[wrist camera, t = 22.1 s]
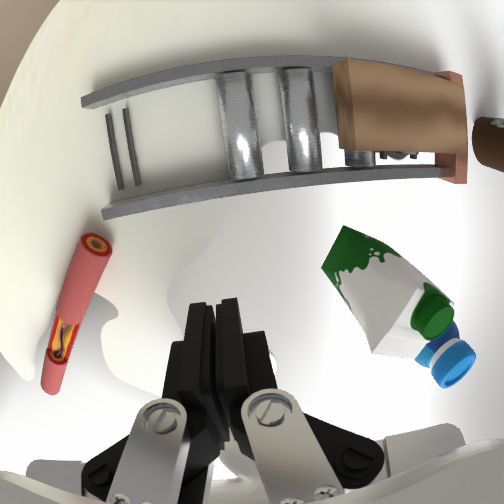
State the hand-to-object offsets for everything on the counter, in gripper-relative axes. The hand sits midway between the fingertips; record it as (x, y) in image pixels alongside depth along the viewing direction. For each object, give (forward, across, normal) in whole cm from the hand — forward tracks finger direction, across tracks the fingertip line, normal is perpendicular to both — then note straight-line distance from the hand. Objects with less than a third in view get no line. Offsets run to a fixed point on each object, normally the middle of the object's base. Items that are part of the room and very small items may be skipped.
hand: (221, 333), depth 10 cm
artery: (+28, +32, +18) cm, 46 cm away
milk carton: (+27, -17, +11) cm, 34 cm away
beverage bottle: (+27, -28, +21) cm, 44 cm away
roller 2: (+26, -10, -9) cm, 29 cm away
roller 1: (+26, -3, -9) cm, 28 cm away
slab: (+22, -23, -10) cm, 34 cm away
